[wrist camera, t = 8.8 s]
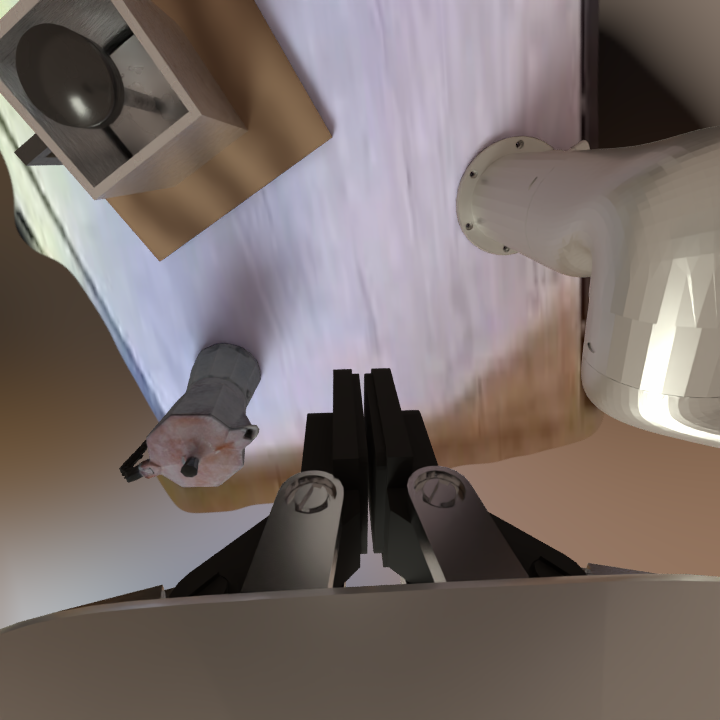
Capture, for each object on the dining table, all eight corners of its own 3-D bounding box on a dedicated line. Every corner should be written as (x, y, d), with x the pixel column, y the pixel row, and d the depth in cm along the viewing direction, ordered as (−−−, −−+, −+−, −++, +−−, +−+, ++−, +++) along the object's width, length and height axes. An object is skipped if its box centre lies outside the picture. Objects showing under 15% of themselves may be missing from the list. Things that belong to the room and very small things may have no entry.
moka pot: (293, 381, 56) (273, 485, 38) (197, 420, 58) (136, 536, 40) (259, 322, 52) (219, 408, 34) (157, 366, 54) (68, 469, 36)
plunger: (152, 24, 32) (53, -50, 21) (219, 122, 36) (164, 104, 24) (82, 86, 34) (-47, 49, 23) (152, 174, 37) (70, 180, 26)
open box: (178, 24, 37) (81, -60, 23) (248, 130, 41) (202, 115, 27) (79, 111, 40) (-66, 83, 25) (153, 202, 44) (65, 223, 29)
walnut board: (204, -87, 35) (199, -95, 34) (332, 137, 43) (332, 136, 42) (15, 86, 39) (6, 84, 38) (163, 259, 48) (159, 261, 46)
